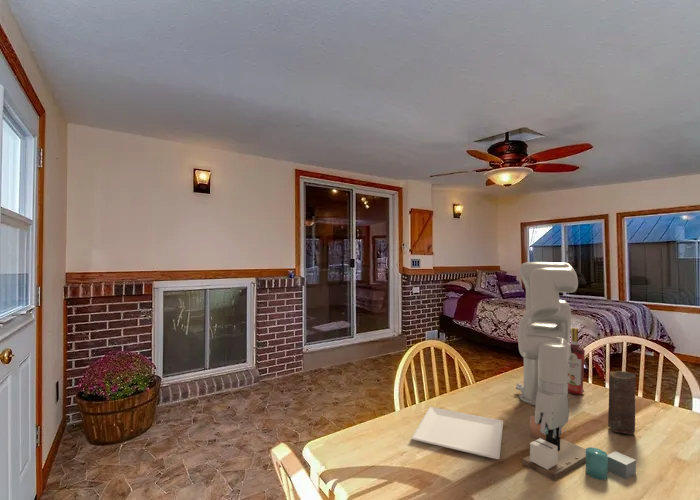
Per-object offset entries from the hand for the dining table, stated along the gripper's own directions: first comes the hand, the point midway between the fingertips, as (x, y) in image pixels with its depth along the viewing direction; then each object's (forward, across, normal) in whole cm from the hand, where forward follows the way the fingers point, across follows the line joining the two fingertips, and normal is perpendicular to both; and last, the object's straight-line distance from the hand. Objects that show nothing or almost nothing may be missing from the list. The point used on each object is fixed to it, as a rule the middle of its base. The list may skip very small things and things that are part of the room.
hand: (552, 449), depth 104 cm
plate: (+5, +10, -26) cm, 28 cm away
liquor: (+4, -60, -24) cm, 65 cm away
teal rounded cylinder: (+4, -6, +9) cm, 11 cm away
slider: (+2, +5, 0) cm, 5 cm away
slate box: (+4, -12, +12) cm, 18 cm away
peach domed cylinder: (+4, -12, -11) cm, 16 cm away
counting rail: (+4, -3, 0) cm, 5 cm away
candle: (+4, -38, +2) cm, 39 cm away
